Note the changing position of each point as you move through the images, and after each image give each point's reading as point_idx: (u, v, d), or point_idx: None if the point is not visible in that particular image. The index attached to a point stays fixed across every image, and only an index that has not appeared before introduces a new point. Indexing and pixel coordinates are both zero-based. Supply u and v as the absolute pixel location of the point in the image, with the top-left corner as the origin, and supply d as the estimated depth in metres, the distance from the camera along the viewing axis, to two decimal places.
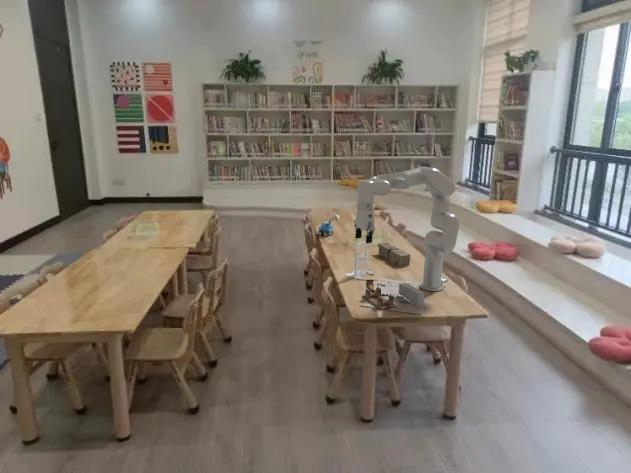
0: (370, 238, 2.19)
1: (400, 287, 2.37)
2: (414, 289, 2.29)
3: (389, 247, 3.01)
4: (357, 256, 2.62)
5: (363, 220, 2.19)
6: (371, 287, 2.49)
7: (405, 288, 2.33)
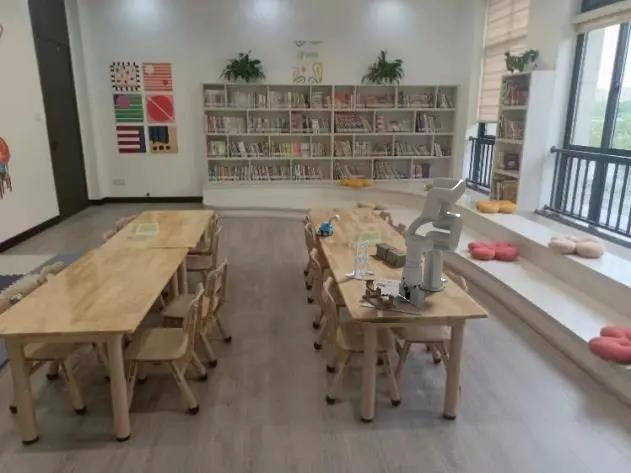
0: None
1: (400, 287, 2.37)
2: (414, 289, 2.29)
3: (387, 247, 3.00)
4: (357, 256, 2.62)
5: (419, 276, 2.29)
6: (371, 287, 2.49)
7: None
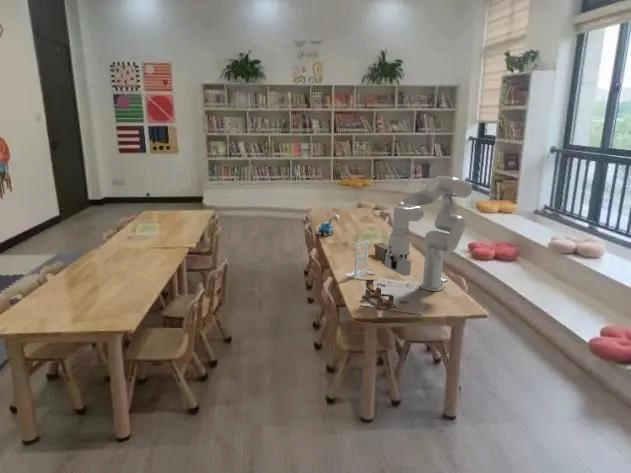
0: None
1: (386, 257, 2.31)
2: (401, 258, 2.23)
3: (386, 247, 3.00)
4: (357, 256, 2.62)
5: (406, 245, 2.24)
6: (371, 287, 2.49)
7: None
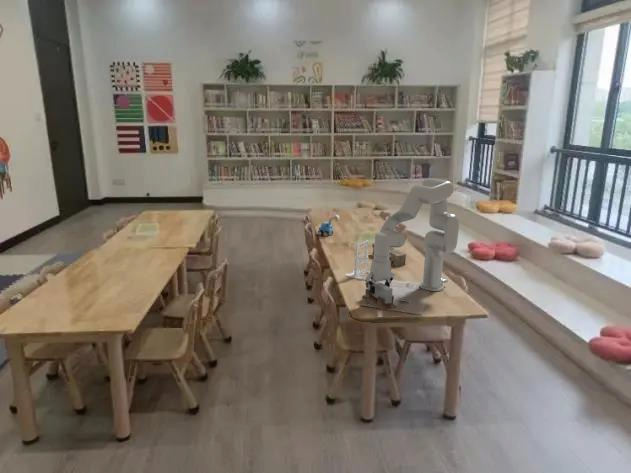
0: None
1: None
2: (383, 286, 2.26)
3: None
4: (357, 256, 2.62)
5: (388, 271, 2.26)
6: None
7: (374, 285, 2.30)
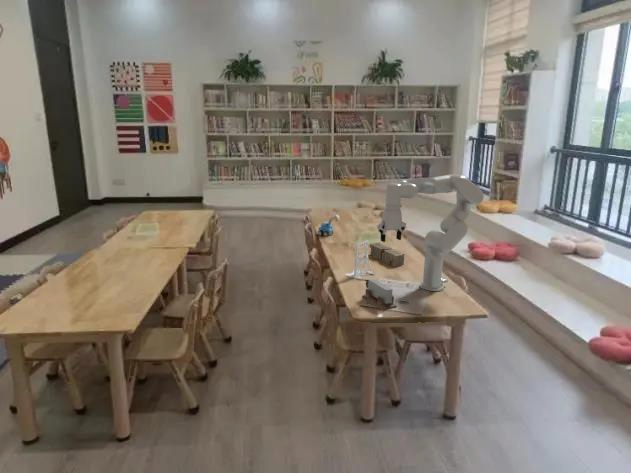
0: None
1: (369, 284, 2.34)
2: (383, 286, 2.26)
3: (382, 247, 3.00)
4: (357, 256, 2.62)
5: (399, 220, 2.34)
6: None
7: (374, 285, 2.30)
